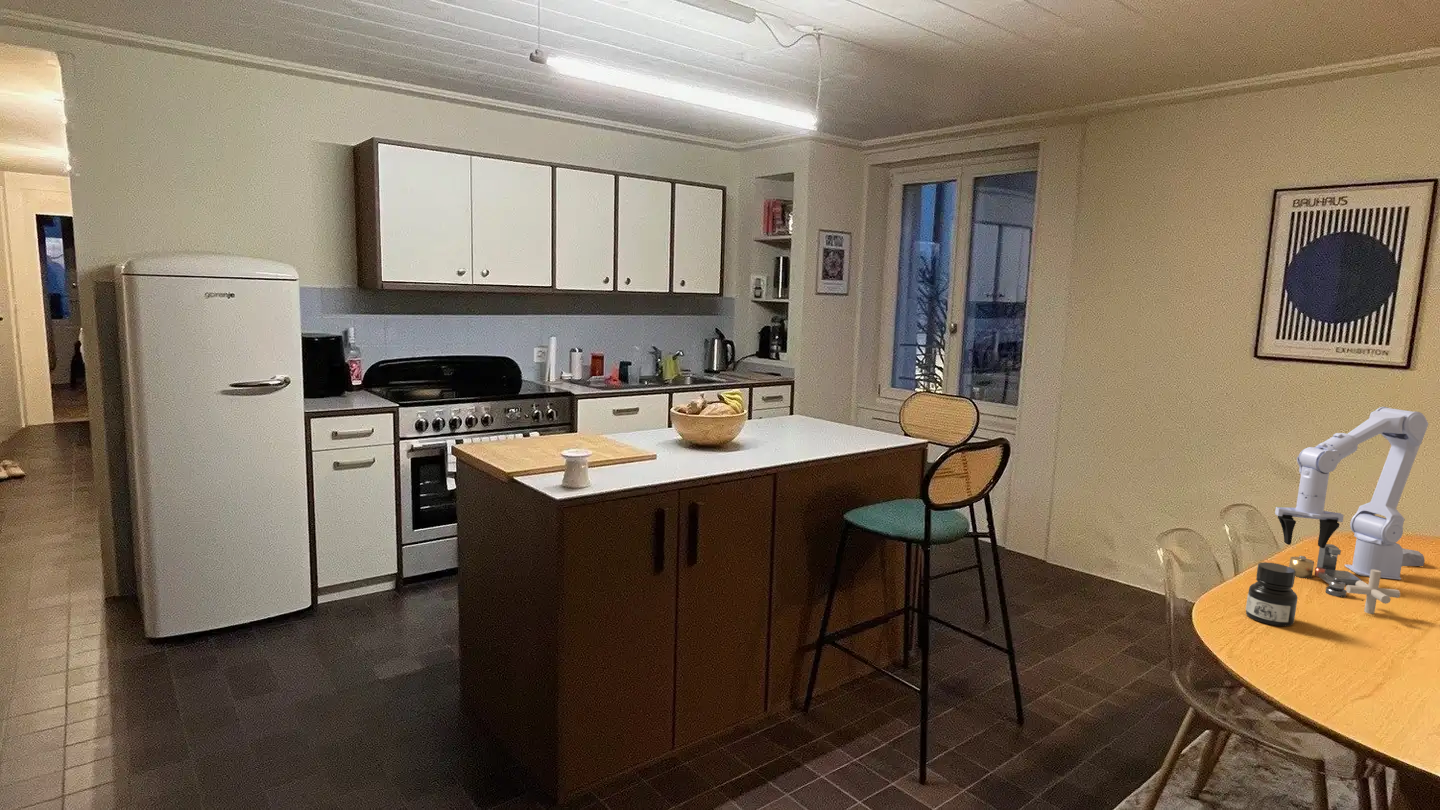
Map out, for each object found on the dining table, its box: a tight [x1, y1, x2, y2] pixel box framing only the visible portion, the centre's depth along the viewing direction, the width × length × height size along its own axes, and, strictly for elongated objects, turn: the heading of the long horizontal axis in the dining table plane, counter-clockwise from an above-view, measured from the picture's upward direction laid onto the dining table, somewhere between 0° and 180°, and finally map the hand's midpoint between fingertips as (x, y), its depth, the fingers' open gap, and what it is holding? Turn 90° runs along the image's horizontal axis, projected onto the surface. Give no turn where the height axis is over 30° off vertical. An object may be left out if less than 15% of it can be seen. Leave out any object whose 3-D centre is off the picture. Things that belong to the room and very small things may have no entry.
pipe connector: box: [1345, 569, 1401, 615], centre depth 181 cm, size 10×10×10 cm
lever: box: [1314, 566, 1346, 591], centre depth 197 cm, size 3×11×2 cm, turn 165°
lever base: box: [1324, 577, 1347, 598], centre depth 193 cm, size 4×4×4 cm
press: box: [1316, 543, 1363, 586], centre depth 206 cm, size 7×12×7 cm, turn 165°
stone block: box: [1401, 547, 1426, 567], centre depth 222 cm, size 12×5×10 cm
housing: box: [1288, 555, 1315, 580], centre depth 206 cm, size 5×5×5 cm
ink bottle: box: [1245, 561, 1298, 627], centre depth 175 cm, size 10×9×12 cm
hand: (1304, 545), depth 205 cm, fingers open, 7 cm apart
